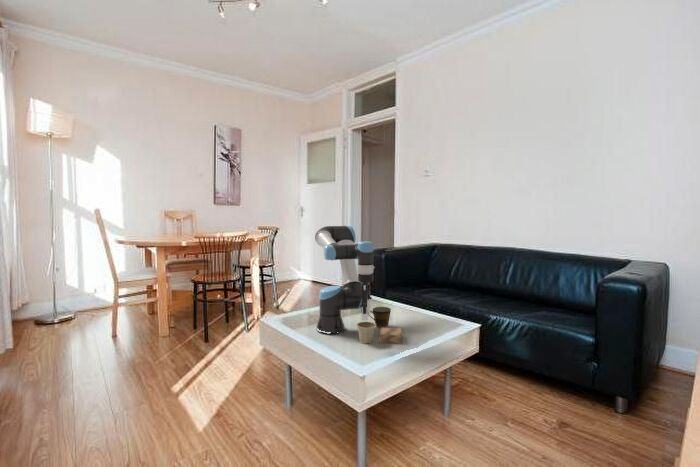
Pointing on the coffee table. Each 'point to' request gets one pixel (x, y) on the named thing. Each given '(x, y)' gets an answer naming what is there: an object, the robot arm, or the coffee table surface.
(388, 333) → the stand
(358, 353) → the coffee table surface
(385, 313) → the ceramic cup
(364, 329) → the flower pot
